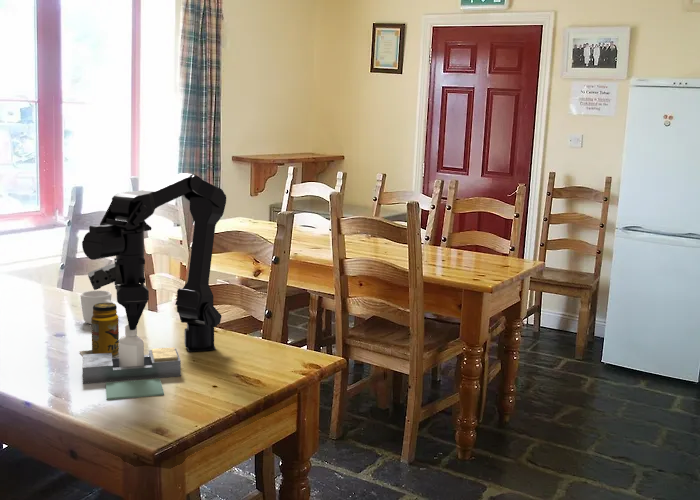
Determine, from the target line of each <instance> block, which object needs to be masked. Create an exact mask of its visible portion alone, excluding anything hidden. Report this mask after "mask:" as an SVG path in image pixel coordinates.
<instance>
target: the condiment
mask: <svg viewBox="0 0 700 500" xmlns="http://www.w3.org/2000/svg"><path fill="white" fill-rule="evenodd" d="M117 307H118V306H117V304H115V303H114V302H113V303H98V304H95V305H94V306H93V316H92V318H91V324H90V325H91V350H80V351H78V352H79V354H80V355H81V356H82V357H83V355H84V354H99V353H112V357H119V339H120V335H119V334H120V333H119V332H120V331H119V327H120V326H119V321H120V320H119V315H118V314H117V313H118V311H117V309H118V308H117Z"/></svg>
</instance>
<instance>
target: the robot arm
mask: <svg viewBox="0 0 700 500" xmlns="http://www.w3.org/2000/svg"><path fill="white" fill-rule="evenodd" d="M181 197H183V198H184V199H185V200H187V202H189V212H190V215H191V218H192V219H193V223H194V225H193V232H192V233H193V235H192V241H191V243H192V244H191V248H190V249H191V250H190V256H189V257H190V258H189V266H188V267H189V268H188V275H187V281H186V283H185V284H184V286H183V287H182V288H181V287H180V288H178V289H177V292H176V294H177V295H176V301H175V306H176V312H177V313H178V315H179V318H180V322H181V323H185V324H186V328H184V332H183V333H184V341H183V342H184V346H185V348H187V351H188V352H191V353H193V352H206V351H216V349H217V348H216V346H215V327H217V326H219V325H221V320H222V314H221V313H220V312H219V311H218V309H217V308H216V307H215V306H214V294H213V291H212V289H211V287H210V284H209V281H210V275H211V274H210V273H211V266H212V257H213V256H212V255H213V250H214V248H213V247H214V239H215V232H216V225H217V223H218V222H219V221H220V220H221V219H222V217H223V215H224V214H225V213H224V212H225V208H226V204H227V195H226V193H225V192H224V190H223V189H222V188H220V187H217V186H215V185H214V184H212V183H209V182H208V181H206V180H204V179H202V178H201V177H200V176H198V175H196V174H194V173H187V172H181V173H178V174H176V175H175V176H174V177H171V178H169V179H167V180H165V181H161V182H160V183H157V184H155V185H153V186H150V187H148V188H145V189H143V190H134V191H133V190H132V191H126V192H124V191H123V192H121V193H117V194H115V195H113V196H112V198H111V202H110V204H109V205H108V208H107V209H106V211H105V214H104V215H103V217H102V219H101V221H100V223H99V225H89V227H88V232H86V234H85V235H84V237H83V239H82V241H81V246H82V251H83V253H84V255H85V256H86V257H87V258H88V259H89V260H92V261H96V260H101V259H106V258H112V257H114V259H113V261H114V263H112V264H108V265H105V266H103V267H99V268H97V269H94V270H92V271H90V272H88V273H87V274H88V276H87V277H88V280H89V281H90V284H91V286H92V289H93V291H98V290H99V289H101V288H102V287H104V286H107V285H110V284H112V283H114V289H115V290H116V302H117V303H118V304H119V305H121V306H122V308H124V310H125V314H126V315H125V316H126V319H127V322H128V324H129V329H130V330H135V329H136V327H137V328H138V324H139V322H140V320H141V316H142V315H143V312H144V310H145V308H146V305H147V303H149V299H150V296H149V295H150V293H149V288H148V286H146V285H145V284H146V276H145V264H146V258H145V232H149V231H152V227H151V225H149V224H148V223H147V222H146V220H147V219H149V218H150V217H151V216H152V215H153V214H154V213H155V210H156V209H158V208H159V207H161V206H163V205H166V204H168V203H169V202H172V201H174V200H176V199H178V198H181ZM128 324H127V325H128Z"/></svg>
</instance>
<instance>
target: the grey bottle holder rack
mask: <svg viewBox="0 0 700 500" xmlns="http://www.w3.org/2000/svg"><path fill="white" fill-rule="evenodd" d="M181 363H182V362H181V358H180V355H179V352H178V350H177V348H175V347H162V348H161V347H159V348H151V349H149V350H148V354H144V366H131V367H119V357H112V353H99V354H84V355H83V356H82V366H81V367H82V369H81V370H82V384H83V385H84V384H98V383H107V382H120V381H133V380H146V379H159V378H160V379H163V378H173V377H175V378H176V377H181V374H182V373H181V372H182V370H181V369H182V367H181V366H182V364H181Z"/></svg>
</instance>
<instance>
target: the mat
mask: <svg viewBox="0 0 700 500" xmlns="http://www.w3.org/2000/svg"><path fill="white" fill-rule="evenodd" d="M163 388H164V387H163V385H162V381H161V378H151V379H138V380H125V381H112V382H105V395H106V401H112V400H121V399H133V398H144V397H145V398H146V397H147V398H148V397H157V396H158V397H159V396H165V391H164V389H163Z"/></svg>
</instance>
